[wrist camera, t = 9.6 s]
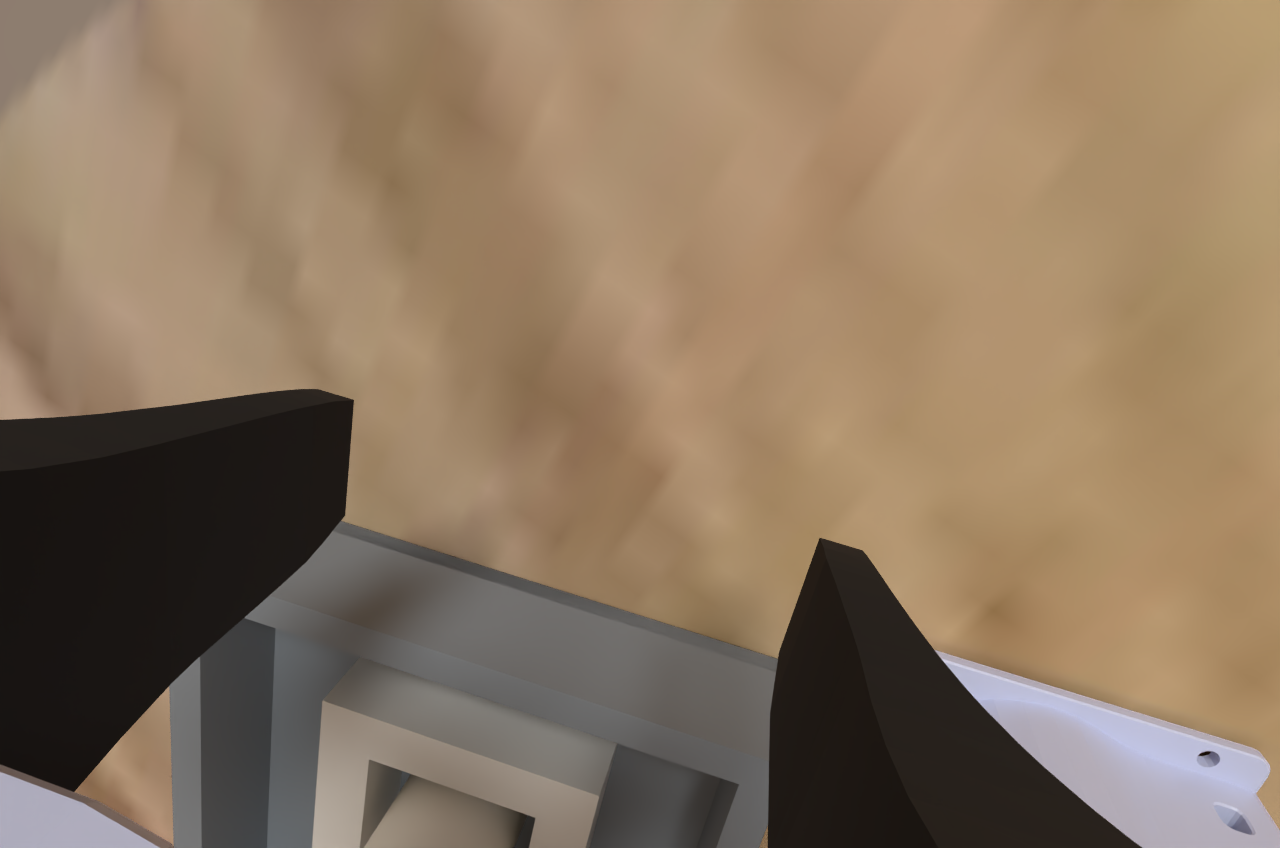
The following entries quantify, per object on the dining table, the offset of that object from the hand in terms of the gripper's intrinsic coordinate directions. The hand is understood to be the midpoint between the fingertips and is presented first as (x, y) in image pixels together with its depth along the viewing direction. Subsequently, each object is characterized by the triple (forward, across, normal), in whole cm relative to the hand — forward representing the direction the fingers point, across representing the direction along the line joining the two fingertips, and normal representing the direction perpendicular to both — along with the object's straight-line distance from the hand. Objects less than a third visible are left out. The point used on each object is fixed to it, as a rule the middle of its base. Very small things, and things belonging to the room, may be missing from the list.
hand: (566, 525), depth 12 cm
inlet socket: (+9, +3, +16) cm, 19 cm away
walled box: (+9, +3, +16) cm, 19 cm away
